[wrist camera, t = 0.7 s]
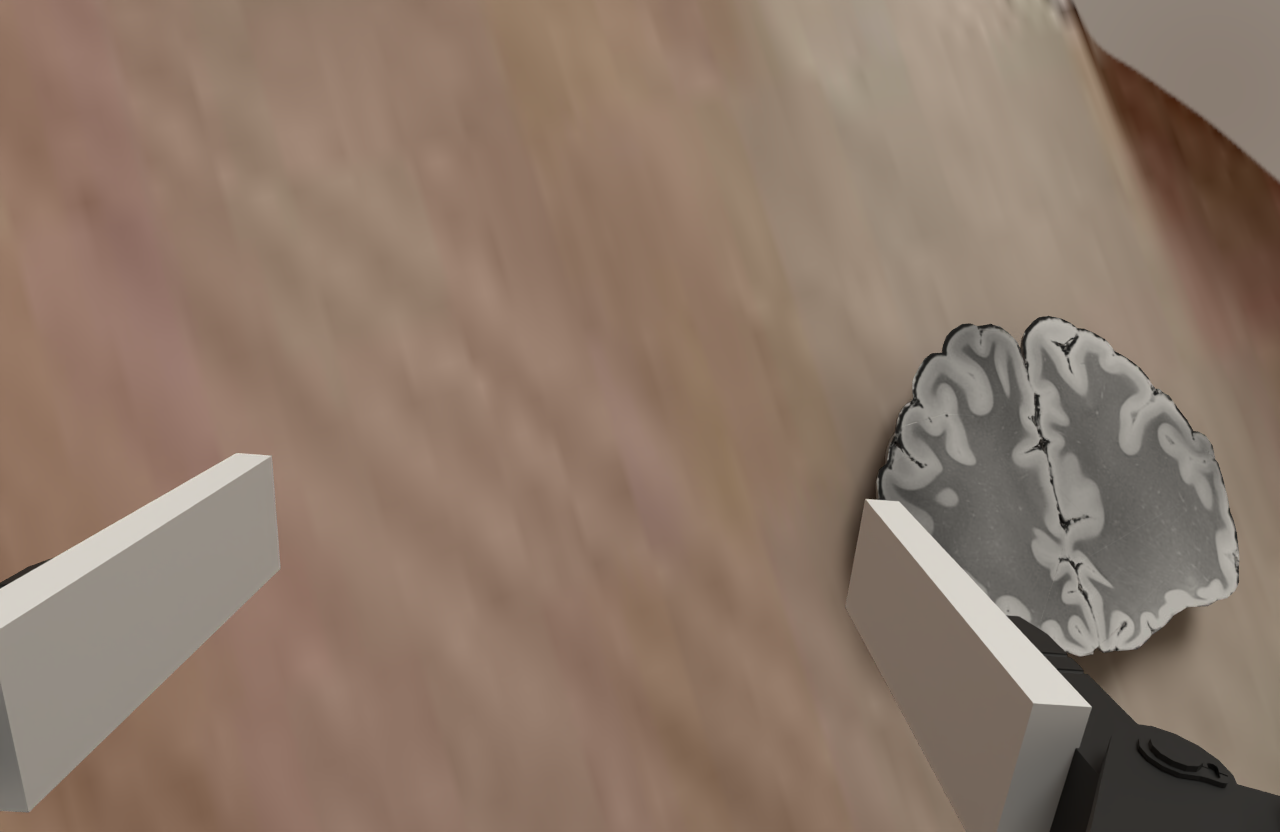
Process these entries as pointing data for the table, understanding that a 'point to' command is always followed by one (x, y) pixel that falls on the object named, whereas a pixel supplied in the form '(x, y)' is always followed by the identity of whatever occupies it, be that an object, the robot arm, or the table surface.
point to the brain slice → (1063, 484)
